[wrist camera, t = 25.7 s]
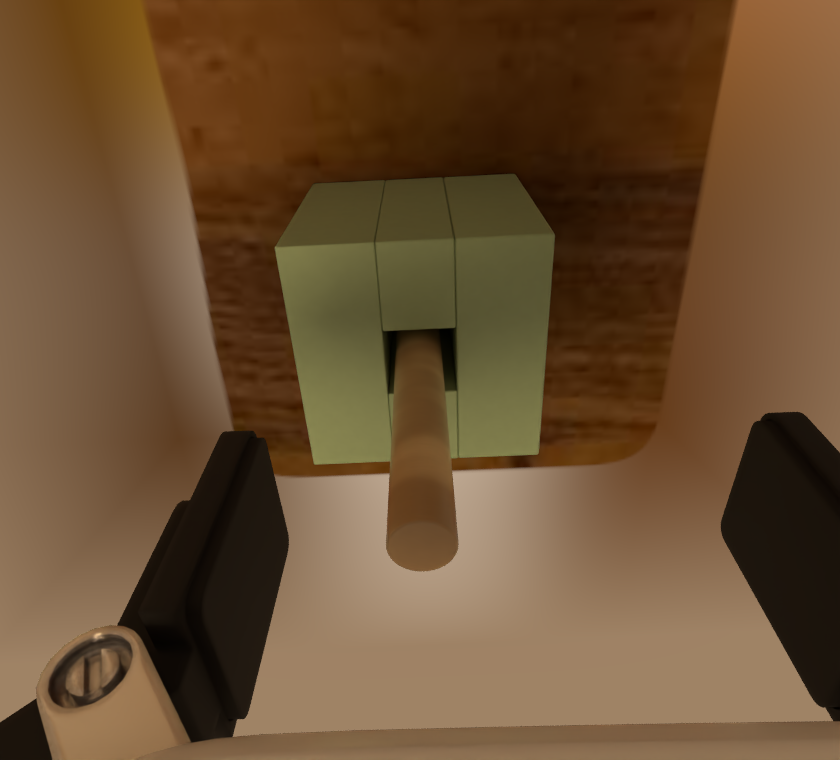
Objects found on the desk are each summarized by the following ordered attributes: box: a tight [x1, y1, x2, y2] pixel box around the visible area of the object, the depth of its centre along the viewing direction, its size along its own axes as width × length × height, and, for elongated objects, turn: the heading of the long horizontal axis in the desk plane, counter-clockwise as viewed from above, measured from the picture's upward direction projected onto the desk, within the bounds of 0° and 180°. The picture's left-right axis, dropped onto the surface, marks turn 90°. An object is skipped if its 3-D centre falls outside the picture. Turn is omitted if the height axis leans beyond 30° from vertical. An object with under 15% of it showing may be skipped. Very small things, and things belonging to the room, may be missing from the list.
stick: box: [386, 329, 458, 571], centre depth 20 cm, size 2×2×16 cm
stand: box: [275, 174, 555, 464], centre depth 23 cm, size 8×8×8 cm
